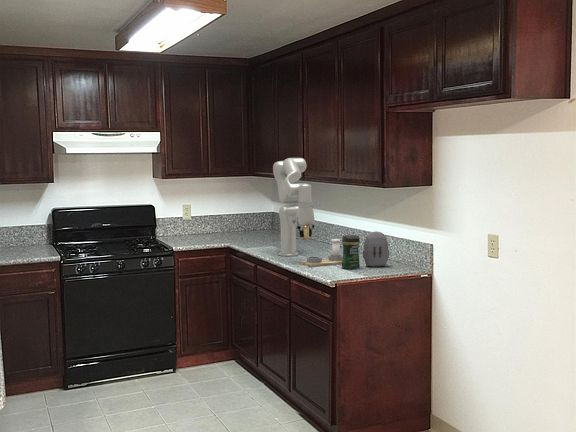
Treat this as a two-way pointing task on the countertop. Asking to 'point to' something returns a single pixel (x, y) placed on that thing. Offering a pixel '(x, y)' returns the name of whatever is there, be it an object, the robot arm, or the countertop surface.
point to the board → (324, 263)
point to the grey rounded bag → (376, 249)
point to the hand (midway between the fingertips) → (305, 236)
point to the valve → (305, 232)
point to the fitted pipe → (335, 251)
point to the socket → (314, 259)
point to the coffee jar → (350, 252)
